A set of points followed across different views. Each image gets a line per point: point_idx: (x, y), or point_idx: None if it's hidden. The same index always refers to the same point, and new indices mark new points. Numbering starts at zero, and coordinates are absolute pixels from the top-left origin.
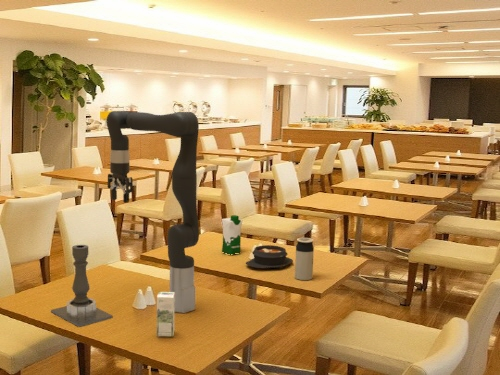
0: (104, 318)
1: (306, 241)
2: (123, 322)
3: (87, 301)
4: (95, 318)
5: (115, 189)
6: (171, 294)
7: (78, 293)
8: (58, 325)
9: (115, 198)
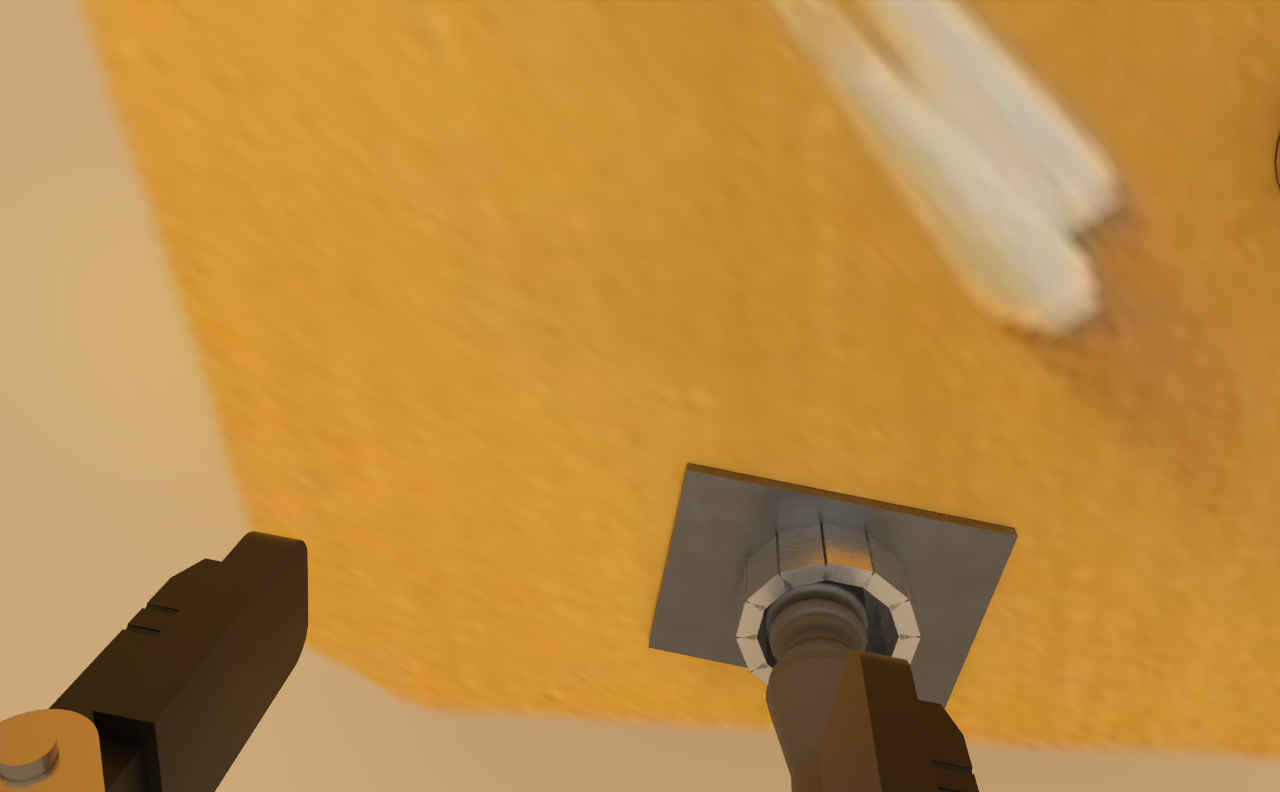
0: (996, 580)
1: None
2: (1121, 545)
3: (865, 631)
4: (957, 613)
5: (115, 783)
6: None
7: None
8: None
9: (296, 583)
